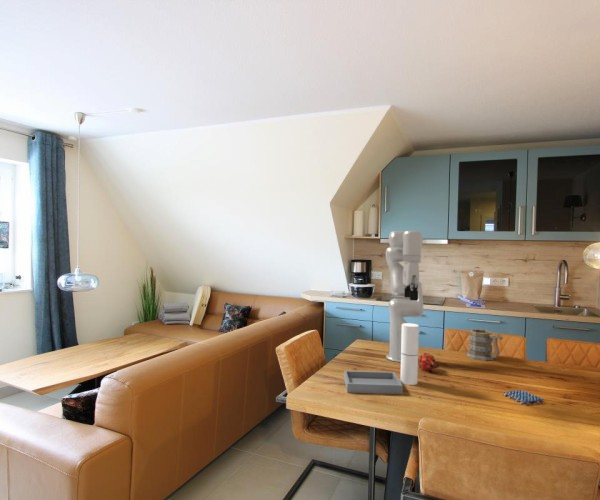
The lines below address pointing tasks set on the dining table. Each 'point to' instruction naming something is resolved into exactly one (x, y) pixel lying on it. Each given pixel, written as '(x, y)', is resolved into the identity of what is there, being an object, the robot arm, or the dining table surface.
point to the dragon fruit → (427, 362)
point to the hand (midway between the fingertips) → (410, 298)
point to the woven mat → (523, 397)
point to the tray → (372, 382)
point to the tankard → (483, 344)
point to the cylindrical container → (409, 353)
